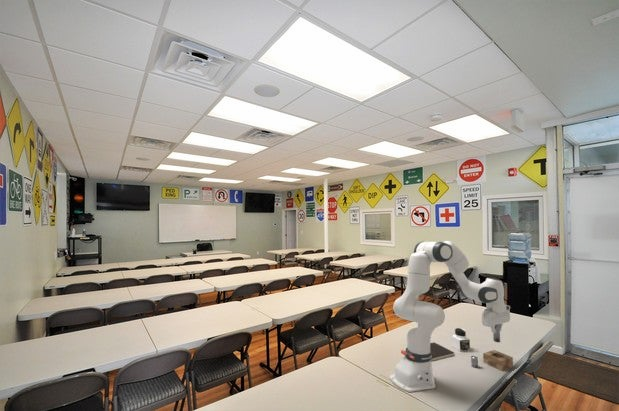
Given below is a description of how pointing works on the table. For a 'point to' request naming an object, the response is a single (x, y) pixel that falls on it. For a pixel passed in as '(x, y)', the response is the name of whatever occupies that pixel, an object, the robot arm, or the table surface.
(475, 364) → the short pin
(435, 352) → the hardcover book
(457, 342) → the medicine bottle
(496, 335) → the long pin
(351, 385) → the table surface
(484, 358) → the hole block
